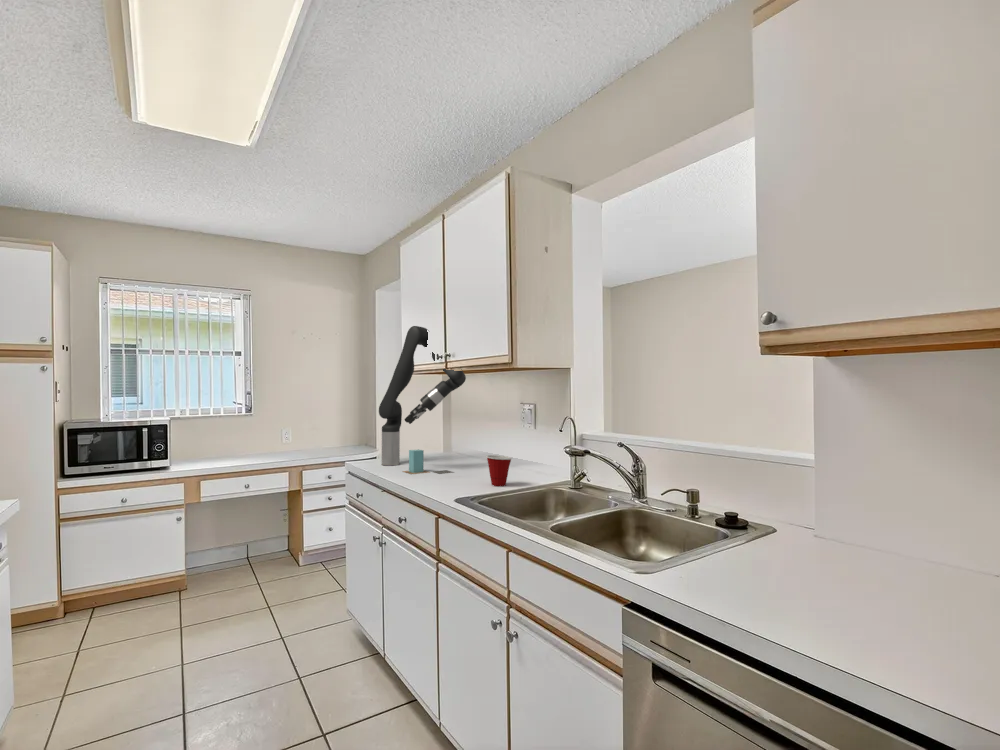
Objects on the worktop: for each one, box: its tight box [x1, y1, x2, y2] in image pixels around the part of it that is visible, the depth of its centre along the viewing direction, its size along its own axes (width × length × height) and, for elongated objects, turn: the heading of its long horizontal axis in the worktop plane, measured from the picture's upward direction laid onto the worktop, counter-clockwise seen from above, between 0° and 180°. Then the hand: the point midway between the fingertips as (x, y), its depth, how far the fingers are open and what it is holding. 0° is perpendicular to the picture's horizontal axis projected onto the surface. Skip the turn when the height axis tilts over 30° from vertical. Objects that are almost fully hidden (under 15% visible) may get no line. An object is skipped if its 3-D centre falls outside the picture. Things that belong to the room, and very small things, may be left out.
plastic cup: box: [485, 454, 513, 487], centre depth 214 cm, size 11×11×12 cm
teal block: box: [408, 449, 425, 473], centre depth 242 cm, size 5×5×10 cm
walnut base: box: [402, 469, 431, 475], centre depth 242 cm, size 10×10×5 cm
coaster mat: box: [432, 469, 455, 475], centre depth 241 cm, size 8×8×1 cm
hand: (407, 421), depth 249 cm, fingers open, 8 cm apart
